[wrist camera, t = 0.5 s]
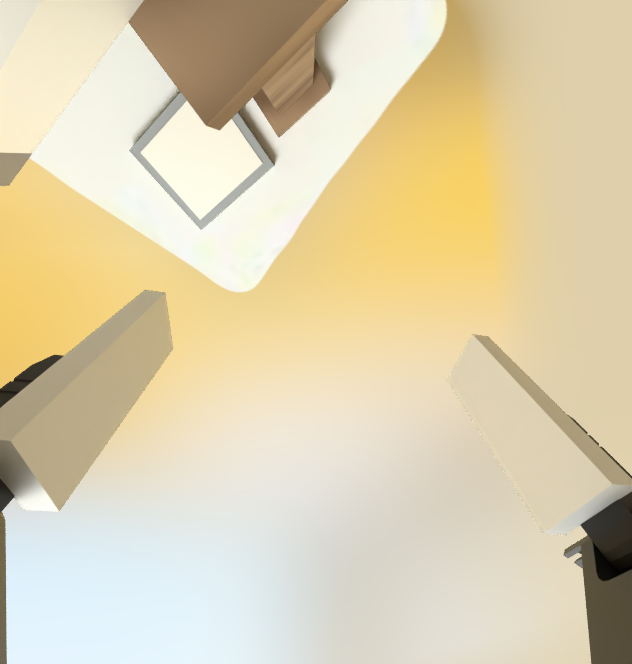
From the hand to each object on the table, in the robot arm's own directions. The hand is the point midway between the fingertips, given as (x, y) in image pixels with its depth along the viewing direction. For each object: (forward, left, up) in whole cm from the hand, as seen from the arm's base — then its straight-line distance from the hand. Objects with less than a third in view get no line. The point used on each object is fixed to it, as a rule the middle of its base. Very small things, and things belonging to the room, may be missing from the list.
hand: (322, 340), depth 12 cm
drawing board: (-14, -8, -34) cm, 37 cm away
